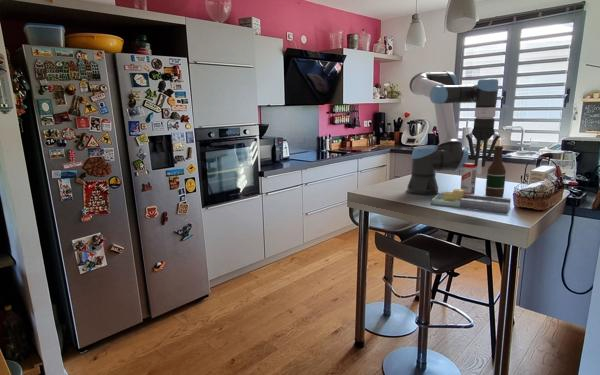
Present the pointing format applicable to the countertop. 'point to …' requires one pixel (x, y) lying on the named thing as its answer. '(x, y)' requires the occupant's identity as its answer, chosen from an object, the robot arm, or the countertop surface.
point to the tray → (440, 201)
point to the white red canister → (468, 178)
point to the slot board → (485, 203)
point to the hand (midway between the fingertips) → (479, 173)
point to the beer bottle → (496, 175)
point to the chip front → (458, 194)
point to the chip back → (448, 196)
